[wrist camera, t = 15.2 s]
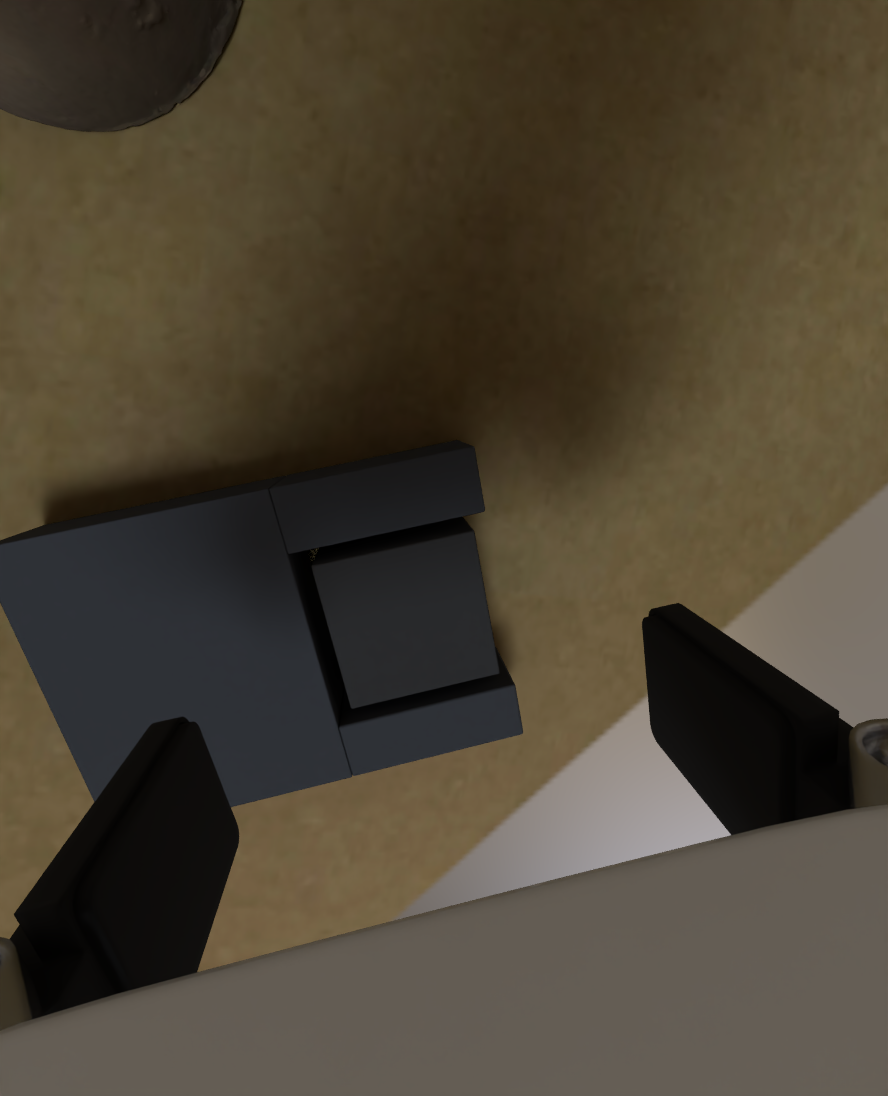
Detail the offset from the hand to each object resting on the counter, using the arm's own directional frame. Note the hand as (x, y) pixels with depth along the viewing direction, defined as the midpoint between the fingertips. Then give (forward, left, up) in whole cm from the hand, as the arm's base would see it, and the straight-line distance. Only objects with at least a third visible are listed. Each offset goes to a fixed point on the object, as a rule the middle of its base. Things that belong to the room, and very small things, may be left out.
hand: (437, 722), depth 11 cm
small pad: (0, 0, -9) cm, 9 cm away
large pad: (+4, 0, -9) cm, 10 cm away
